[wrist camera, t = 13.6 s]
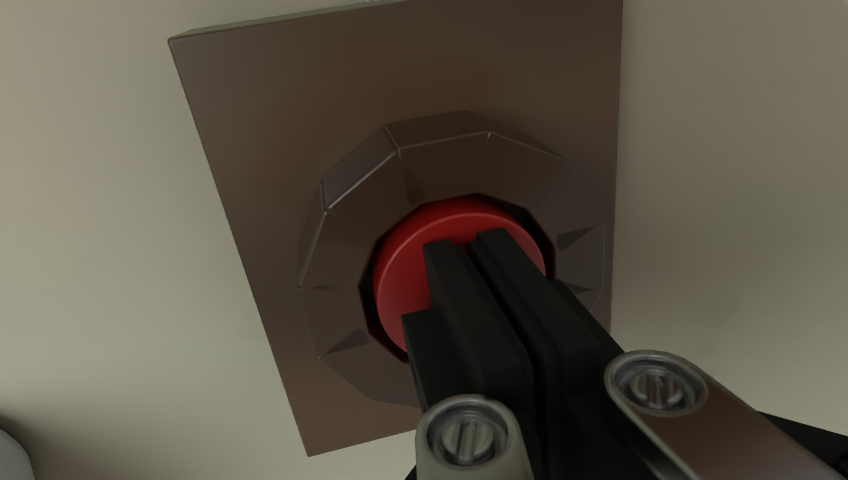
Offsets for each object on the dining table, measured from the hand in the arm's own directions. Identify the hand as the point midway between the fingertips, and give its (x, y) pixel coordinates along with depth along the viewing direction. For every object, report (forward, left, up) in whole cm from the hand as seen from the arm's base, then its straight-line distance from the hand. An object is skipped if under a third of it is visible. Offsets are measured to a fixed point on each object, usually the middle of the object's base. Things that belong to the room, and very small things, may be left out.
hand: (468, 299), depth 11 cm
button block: (0, 0, -4) cm, 4 cm away
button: (0, 0, -2) cm, 2 cm away
